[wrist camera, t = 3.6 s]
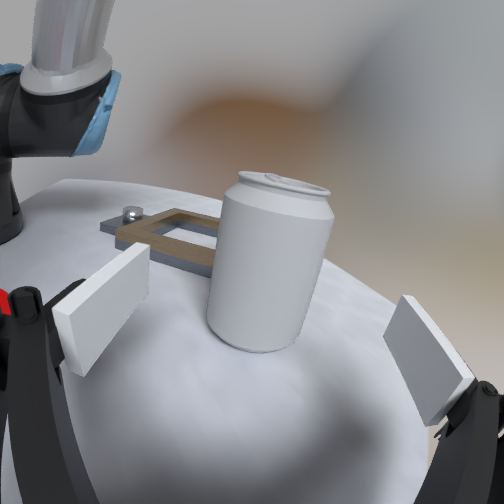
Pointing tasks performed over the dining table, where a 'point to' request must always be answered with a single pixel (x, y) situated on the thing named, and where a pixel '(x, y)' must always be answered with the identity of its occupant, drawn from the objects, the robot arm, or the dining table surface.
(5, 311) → the tow hook
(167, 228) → the chain end lower
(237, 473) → the dining table surface
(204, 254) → the chain end upper
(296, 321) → the can
